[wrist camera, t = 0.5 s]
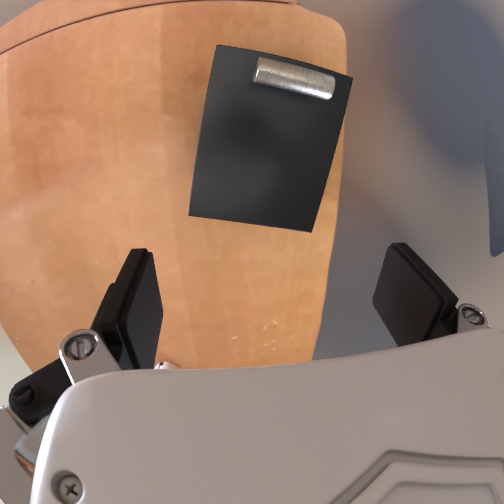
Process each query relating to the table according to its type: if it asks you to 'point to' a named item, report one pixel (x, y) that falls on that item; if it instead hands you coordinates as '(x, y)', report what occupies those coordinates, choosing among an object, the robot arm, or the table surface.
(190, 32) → the table surface
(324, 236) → the table surface
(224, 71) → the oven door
